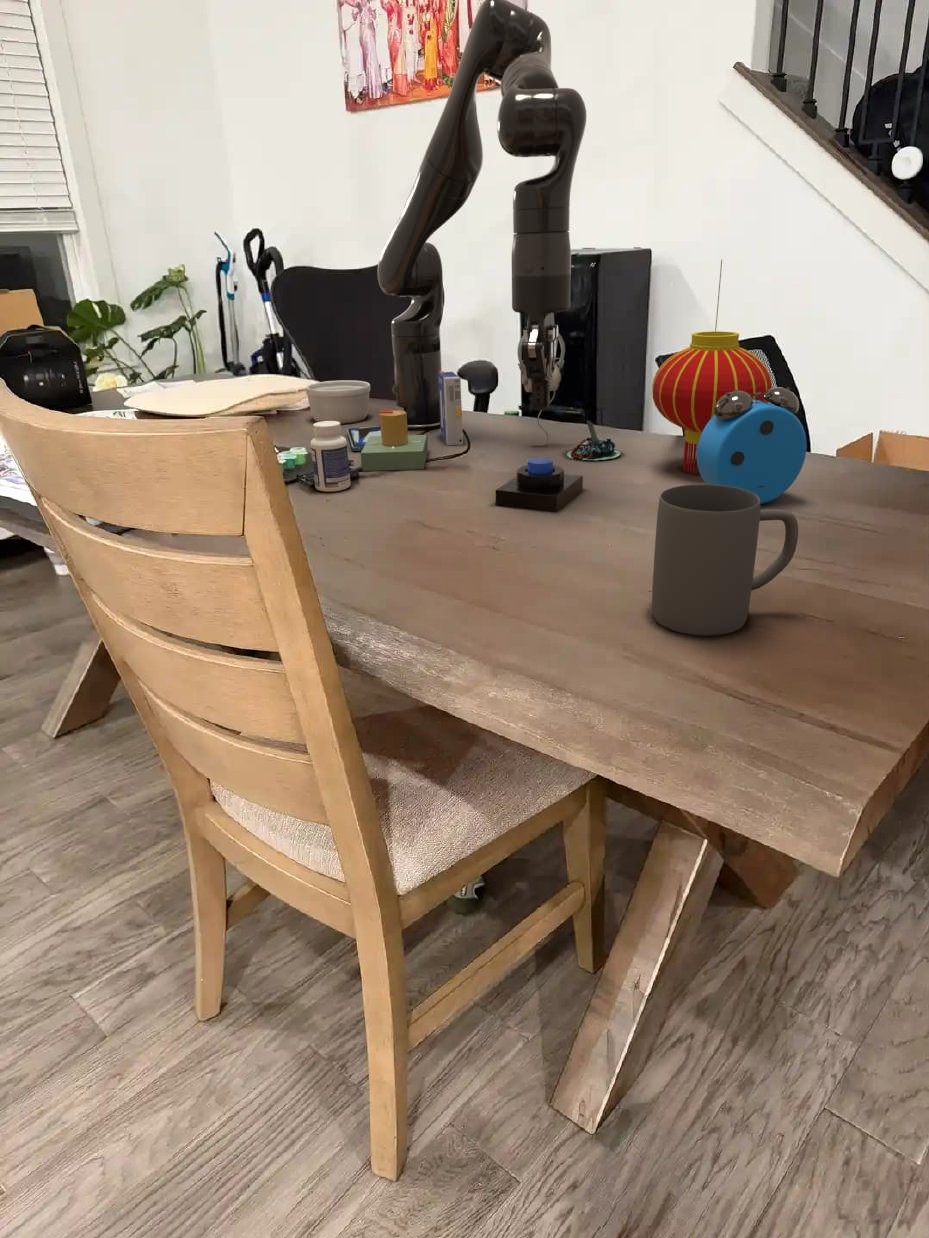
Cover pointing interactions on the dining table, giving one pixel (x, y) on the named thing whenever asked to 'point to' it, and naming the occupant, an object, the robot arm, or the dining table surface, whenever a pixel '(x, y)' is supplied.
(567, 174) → the robot arm
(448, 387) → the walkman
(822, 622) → the dining table surface
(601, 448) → the dish
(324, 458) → the pill bottle
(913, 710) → the dining table surface
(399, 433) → the dimmer knob
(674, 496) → the mug
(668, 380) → the lantern
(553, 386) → the headphones
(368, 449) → the block
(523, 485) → the lamp switch
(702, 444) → the alarm clock
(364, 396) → the ramekin
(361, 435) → the smartphone
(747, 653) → the dining table surface
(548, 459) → the button
